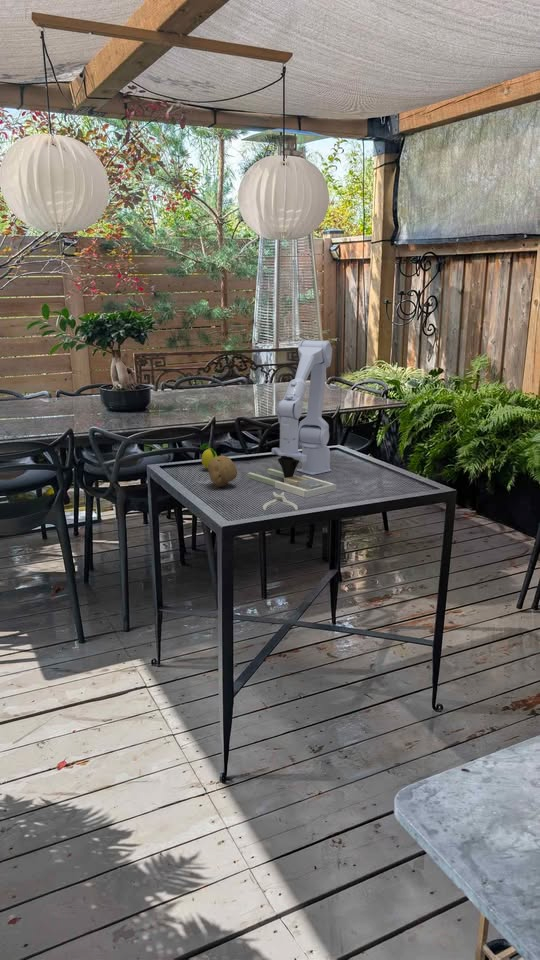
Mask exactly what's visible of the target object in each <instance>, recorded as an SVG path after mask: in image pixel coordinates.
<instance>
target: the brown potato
mask: <svg viewBox="0 0 540 960" xmlns="http://www.w3.org/2000/svg"><path fill="white" fill-rule="evenodd" d="M207 470H208V474H209V479H210V480H211V482H212V484H214V485H215V486H216V487H218V488H222V487H225V486H226V485H228V484H229V483H230V482H232V481H234V479H236V477H237V475H238V469H237V467H236V465H235V463H234V462H233V461H232V459H231V458H230V457H228V456H226V455H222V454H221V455H217V457H214V458H213V459H212V460H211V461H210V462H209V464H208V469H207Z"/></svg>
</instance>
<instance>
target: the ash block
mask: <svg viewBox="0 0 540 960" xmlns="http://www.w3.org/2000/svg"><path fill="white" fill-rule="evenodd" d="M303 480H307V479H306V478H302V477H301V476H298V475H295V476H292V477H288V478H283V483H286V484H289V485H293V486H296V487H298V481H303Z"/></svg>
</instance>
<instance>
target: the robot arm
mask: <svg viewBox="0 0 540 960" xmlns="http://www.w3.org/2000/svg"><path fill="white" fill-rule="evenodd" d="M297 353H298V358H299V362H298V366H297V369H296V372H295V376H294V379H291V380H290V381H289V384H288V386H287V388H286V391H285V393H284V396H283V399H281V400H280V401H279V402H278V404H277V405H276V415H277V419H278V424H279V447H272V448H271V454H272V455H276V456H280V457H279V458H277V461H278V463H279V465H280V467H281V470H282V472H283V474H284V478H288V477H292V476H293V475H294V474H295V472H299V473H302V474H306V475H310V476H313V475H314V476H315V475H320V474H323V473H328V472H332V469H331V450H330V447H329V446H328V443H329V440H330V432H329V431H330V430H329V429H330V426H329V423H328V422H327V421H326V420H325V419H324V418H323V417H322V416H323V404H324V397H325V396H324V395H325V386H326V375H327V368H330V366H331V363H332V358H333V357H332V356H333V348H332V344H331V342H330V341H329V340H306V339H301V341H300V342H299V344H298V347H297ZM309 376H310V379H309V380H310V381H309V392H308V401H307V410H306V411H307V412H306V417H304V418H303V419H302V420H301V421H299V419H300V418H301V416H302V413H303V400H304V397H305V394H306V392H307V388H308V387H307V386H308V385H307V384H306V382H307V379H308V377H309ZM299 446H300V447H301V451H299ZM300 462H301V467H300V468H297V467H298V466H299V465H298V464H299V463H300ZM296 468H297V469H296ZM284 478H283V479H284Z"/></svg>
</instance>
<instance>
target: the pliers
mask: <svg viewBox="0 0 540 960" xmlns="http://www.w3.org/2000/svg"><path fill="white" fill-rule="evenodd" d="M272 498H273V499H272V500H269V501H267V502H265V503H264V504H263V505H262V511H264V512H266V509H267V508H268V507H270V506H271V507H272V506H276V505H278V504H279V503H278V502H279V501H280V503H281V504H282V505H284V506H287V507H288V506H289V507H292V508H293V509H294V511H296V512H297V511H298V509H299V508H298V505H297V504H295V503H294V502H293V501H289V500H287V498H286V496H285V492H284V491H282V492H281V493H280V494H278V493H276V491H272Z"/></svg>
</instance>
